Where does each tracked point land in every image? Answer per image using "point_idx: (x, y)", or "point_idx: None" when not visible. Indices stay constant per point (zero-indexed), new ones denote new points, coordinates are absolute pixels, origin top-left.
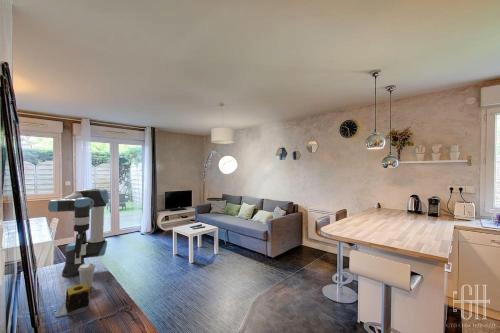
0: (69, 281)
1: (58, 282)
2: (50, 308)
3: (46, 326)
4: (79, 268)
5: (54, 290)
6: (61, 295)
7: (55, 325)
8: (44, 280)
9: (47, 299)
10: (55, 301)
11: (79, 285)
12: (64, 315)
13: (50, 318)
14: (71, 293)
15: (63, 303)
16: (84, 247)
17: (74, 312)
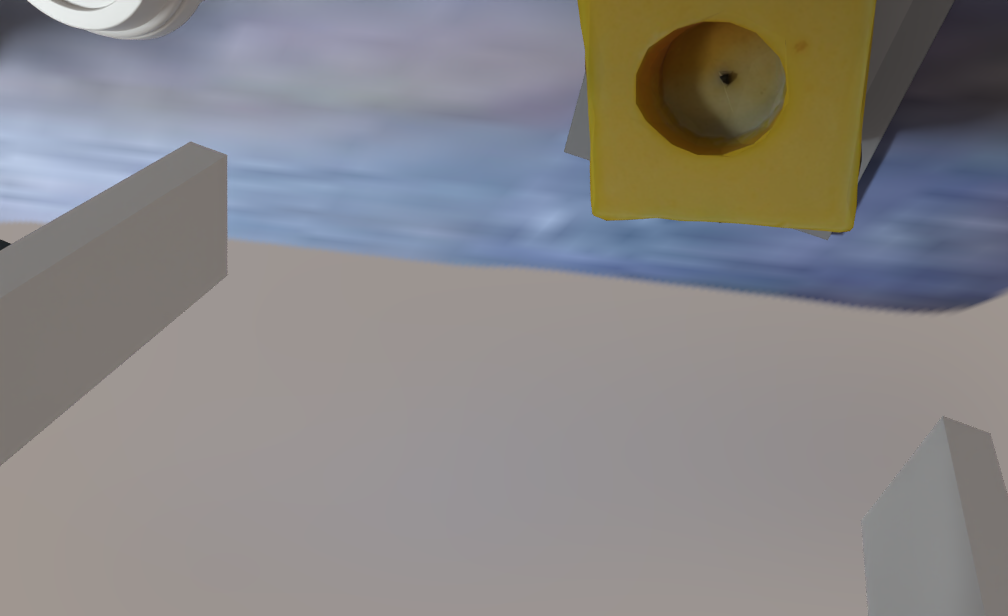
0: (80, 32)
1: (75, 124)
2: (586, 240)
3: (932, 307)
4: (119, 30)
5: (231, 171)
6: (368, 133)
7: (994, 251)
8: (9, 212)
9: (387, 237)
10: (468, 191)
11: (617, 63)
12: (865, 167)
13: (797, 265)
14: (834, 196)
15: (582, 146)
16: (31, 320)
17: (905, 78)
